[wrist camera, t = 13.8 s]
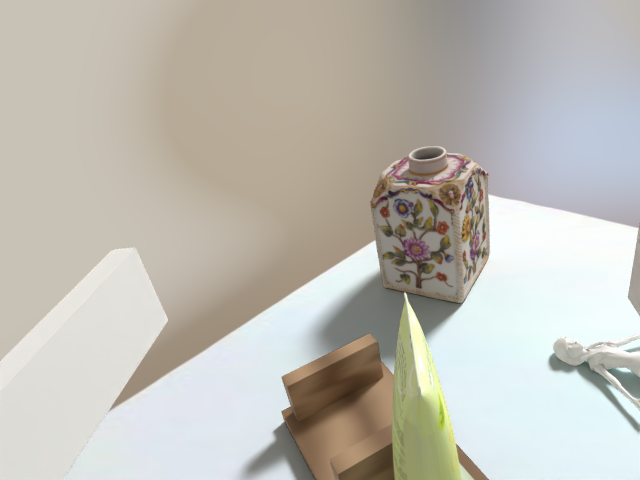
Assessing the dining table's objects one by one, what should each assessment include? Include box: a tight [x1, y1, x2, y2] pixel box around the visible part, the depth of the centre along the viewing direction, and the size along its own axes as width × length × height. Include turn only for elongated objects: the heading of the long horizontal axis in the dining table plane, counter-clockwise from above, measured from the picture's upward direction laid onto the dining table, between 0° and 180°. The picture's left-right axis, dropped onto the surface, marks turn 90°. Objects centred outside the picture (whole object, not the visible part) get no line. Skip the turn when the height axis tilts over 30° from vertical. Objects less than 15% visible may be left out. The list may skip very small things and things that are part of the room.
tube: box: [392, 293, 462, 480], centre depth 31 cm, size 6×5×20 cm
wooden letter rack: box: [281, 333, 489, 480], centre depth 39 cm, size 12×24×6 cm, turn 25°
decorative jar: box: [371, 146, 490, 303], centre depth 62 cm, size 12×12×18 cm
